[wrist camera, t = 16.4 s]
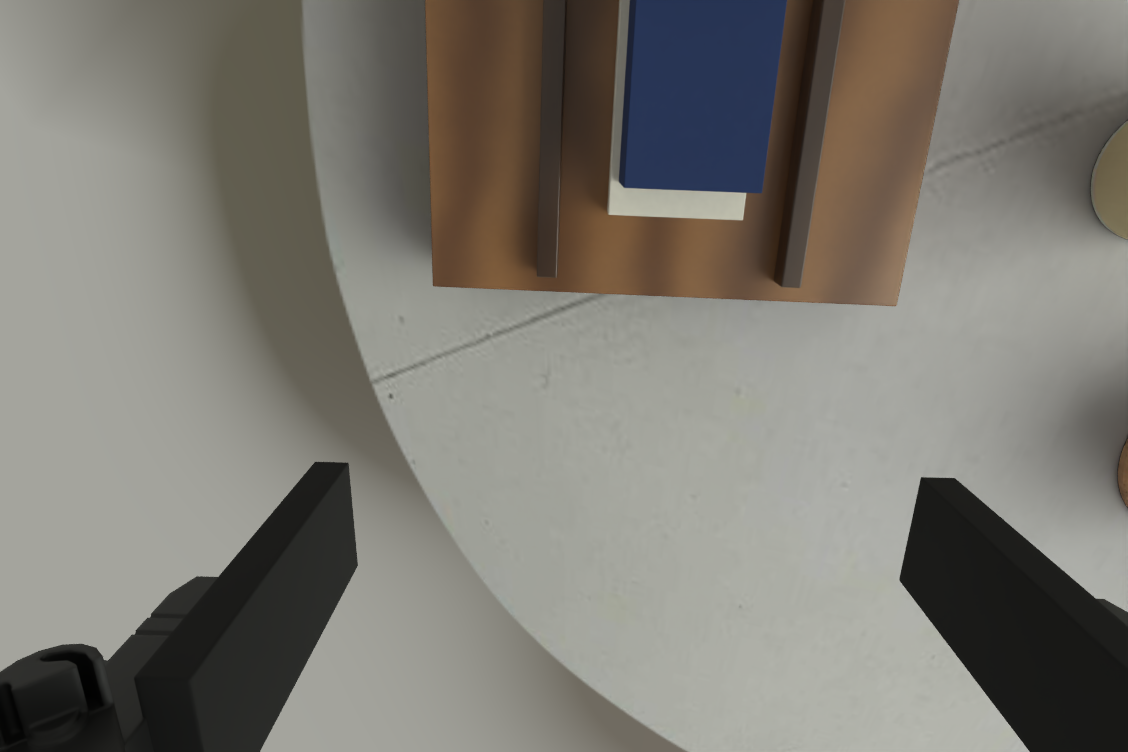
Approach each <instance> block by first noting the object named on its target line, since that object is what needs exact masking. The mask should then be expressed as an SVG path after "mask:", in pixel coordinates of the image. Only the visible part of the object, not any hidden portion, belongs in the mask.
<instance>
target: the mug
mask: <svg viewBox="0 0 1128 752" xmlns="http://www.w3.org/2000/svg"><path fill="white" fill-rule="evenodd" d="M1118 484H1119V489H1120V493H1121V496H1122V498H1123V500H1124V502H1125V504H1126V506H1127V507H1128V439H1127V441H1126V443H1125V445H1124V448H1123V450H1122V453H1121V457H1120V461H1119V467H1118Z"/></svg>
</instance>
